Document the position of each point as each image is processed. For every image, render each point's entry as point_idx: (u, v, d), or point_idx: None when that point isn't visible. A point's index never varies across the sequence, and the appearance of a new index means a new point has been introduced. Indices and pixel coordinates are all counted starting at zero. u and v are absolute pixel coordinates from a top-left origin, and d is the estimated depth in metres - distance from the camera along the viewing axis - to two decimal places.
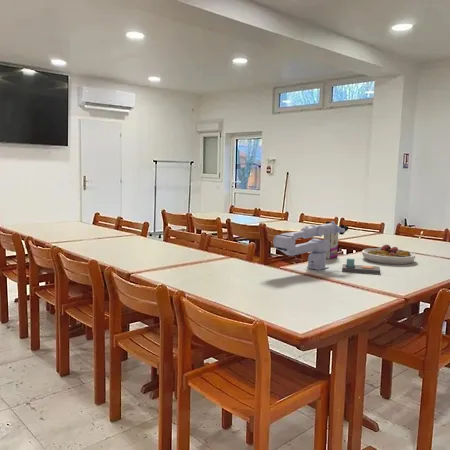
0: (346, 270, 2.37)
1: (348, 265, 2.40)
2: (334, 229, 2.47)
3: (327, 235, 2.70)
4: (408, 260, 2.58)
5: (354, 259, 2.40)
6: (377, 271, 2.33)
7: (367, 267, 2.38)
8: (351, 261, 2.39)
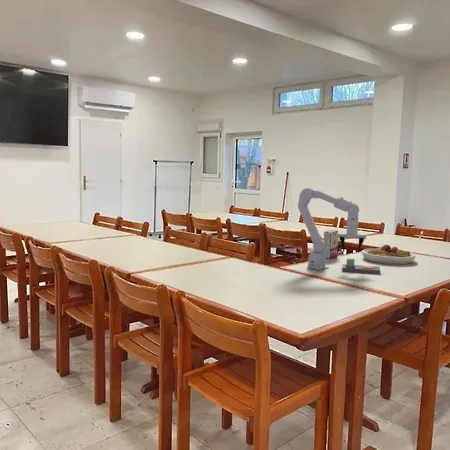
0: (346, 270, 2.37)
1: (348, 265, 2.40)
2: None
3: (327, 235, 2.70)
4: (408, 260, 2.58)
5: (354, 259, 2.40)
6: (377, 271, 2.33)
7: (367, 267, 2.38)
8: (351, 261, 2.39)
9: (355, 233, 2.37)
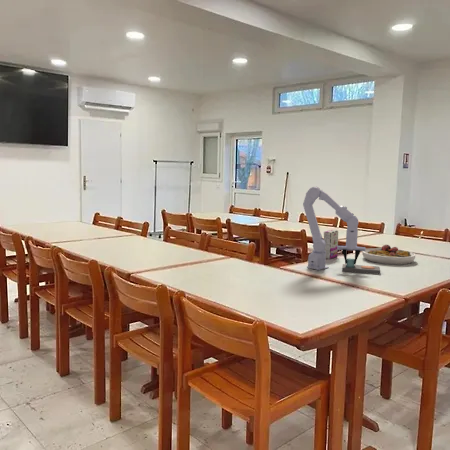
0: (346, 270, 2.37)
1: (348, 265, 2.40)
2: None
3: (327, 235, 2.70)
4: (408, 260, 2.58)
5: (354, 259, 2.40)
6: (377, 271, 2.33)
7: (367, 267, 2.38)
8: (351, 261, 2.39)
9: (354, 245, 2.38)
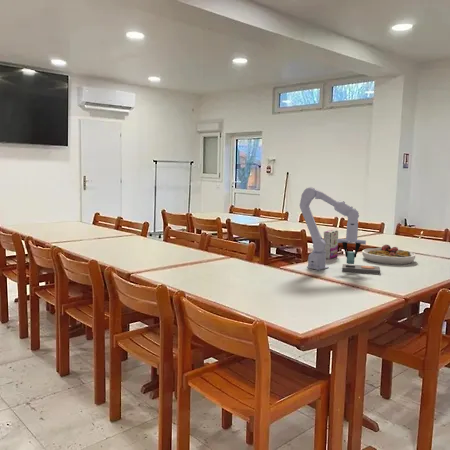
0: (346, 270, 2.37)
1: (348, 258, 2.40)
2: (346, 237, 2.40)
3: (327, 235, 2.70)
4: (408, 260, 2.58)
5: (354, 252, 2.40)
6: (377, 271, 2.33)
7: (367, 267, 2.38)
8: (351, 254, 2.39)
9: (355, 238, 2.37)
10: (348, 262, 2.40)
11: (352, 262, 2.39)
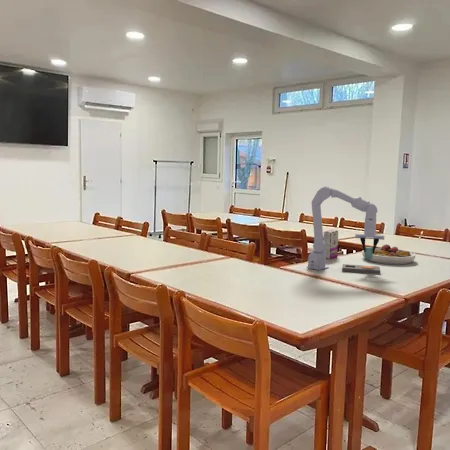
0: (346, 270, 2.37)
1: (366, 254, 2.37)
2: (364, 232, 2.38)
3: (327, 235, 2.70)
4: (408, 260, 2.58)
5: None
6: (377, 271, 2.33)
7: (367, 267, 2.38)
8: (369, 249, 2.36)
9: (373, 234, 2.34)
10: (366, 258, 2.37)
11: (370, 258, 2.37)
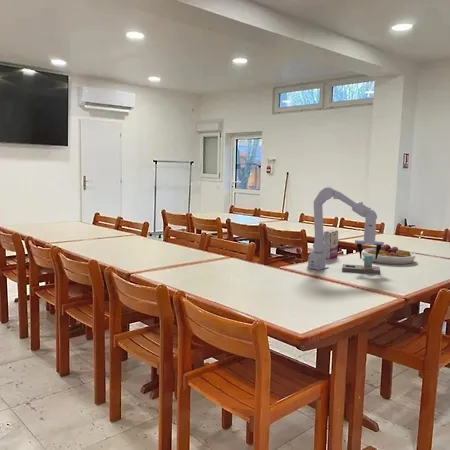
0: (346, 270, 2.37)
1: (366, 262, 2.37)
2: None
3: (327, 235, 2.70)
4: (408, 260, 2.58)
5: (372, 256, 2.38)
6: (377, 271, 2.33)
7: None
8: (369, 258, 2.36)
9: (373, 240, 2.35)
10: (366, 266, 2.38)
11: (370, 266, 2.37)
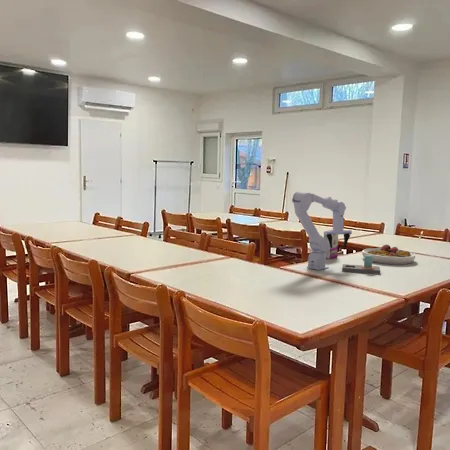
0: (346, 270, 2.37)
1: (366, 262, 2.37)
2: (333, 228, 2.50)
3: None
4: (408, 260, 2.58)
5: (372, 256, 2.38)
6: (377, 271, 2.33)
7: None
8: (369, 258, 2.36)
9: (342, 229, 2.48)
10: (366, 266, 2.38)
11: (370, 266, 2.37)
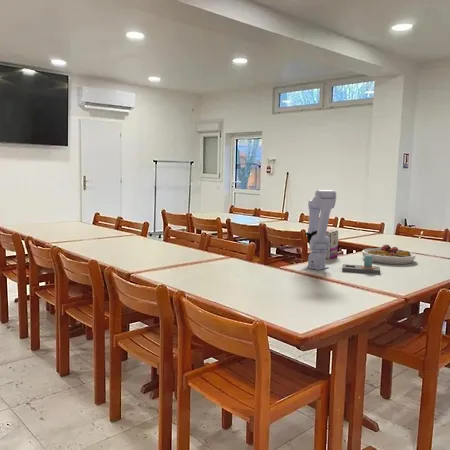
0: (346, 270, 2.37)
1: (366, 262, 2.37)
2: (312, 226, 2.57)
3: (327, 235, 2.70)
4: (408, 260, 2.58)
5: (372, 256, 2.38)
6: (377, 271, 2.33)
7: None
8: (369, 258, 2.36)
9: None
10: (366, 266, 2.38)
11: (370, 266, 2.37)
